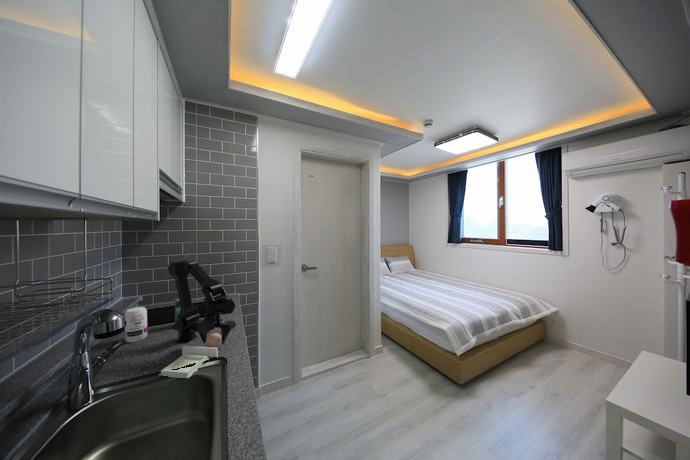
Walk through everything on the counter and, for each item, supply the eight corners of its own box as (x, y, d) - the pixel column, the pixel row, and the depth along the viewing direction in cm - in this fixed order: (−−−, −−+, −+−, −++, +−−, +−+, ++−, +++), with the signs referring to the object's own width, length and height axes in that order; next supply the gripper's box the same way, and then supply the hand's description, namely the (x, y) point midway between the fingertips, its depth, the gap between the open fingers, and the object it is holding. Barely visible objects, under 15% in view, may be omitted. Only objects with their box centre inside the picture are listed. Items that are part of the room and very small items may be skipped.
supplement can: (138, 334, 120) (138, 305, 120) (151, 335, 118) (151, 307, 118) (120, 342, 112) (120, 311, 112) (134, 344, 110) (133, 312, 110)
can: (178, 328, 127) (178, 301, 127) (173, 325, 130) (173, 299, 130) (190, 324, 132) (190, 298, 132) (185, 321, 135) (185, 296, 135)
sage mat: (158, 376, 87) (158, 371, 87) (183, 358, 99) (183, 353, 99) (188, 378, 86) (188, 373, 86) (209, 359, 98) (209, 355, 98)
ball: (203, 349, 106) (203, 336, 106) (212, 343, 112) (212, 330, 112) (215, 350, 105) (215, 337, 105) (224, 343, 111) (223, 331, 111)
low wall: (182, 355, 101) (181, 346, 101) (183, 354, 102) (183, 345, 102) (216, 357, 99) (216, 348, 99) (217, 356, 100) (217, 347, 100)
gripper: (181, 316, 101) (181, 351, 101) (222, 318, 99) (222, 354, 100) (199, 307, 112) (200, 339, 112) (236, 308, 110) (236, 341, 111)
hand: (214, 343), depth 108 cm, fingers open, 9 cm apart
